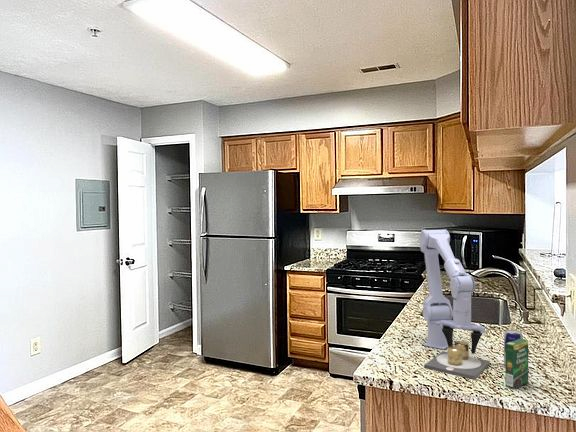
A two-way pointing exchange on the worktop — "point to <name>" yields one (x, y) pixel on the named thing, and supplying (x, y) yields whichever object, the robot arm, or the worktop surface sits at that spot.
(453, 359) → the golden domed cylinder
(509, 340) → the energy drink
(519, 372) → the green carton
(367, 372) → the worktop surface
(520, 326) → the worktop surface
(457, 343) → the tan rounded cylinder
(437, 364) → the kitchen scale
